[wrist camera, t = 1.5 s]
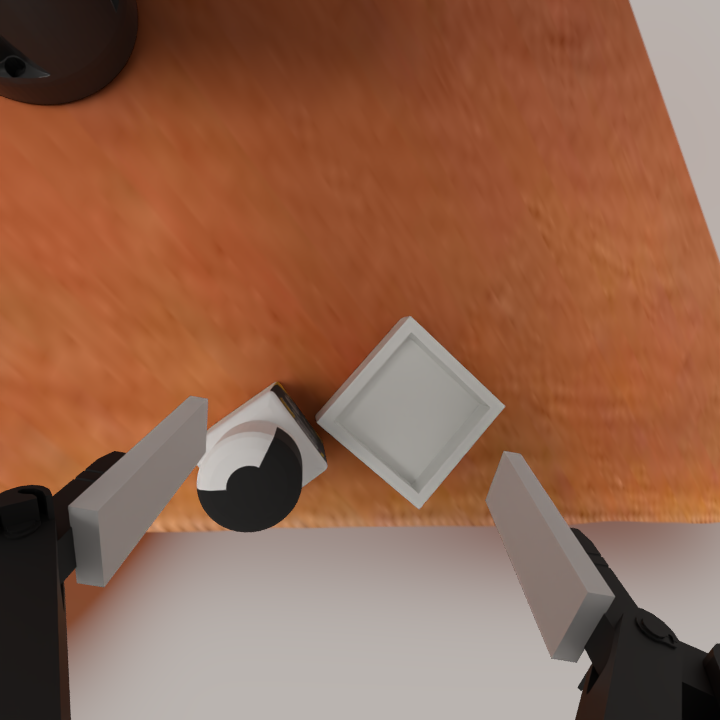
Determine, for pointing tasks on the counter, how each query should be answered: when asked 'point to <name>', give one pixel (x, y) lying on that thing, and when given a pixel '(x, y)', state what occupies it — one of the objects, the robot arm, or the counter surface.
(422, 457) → the grey square tray
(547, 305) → the counter surface
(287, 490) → the medicine bottle
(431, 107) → the counter surface
